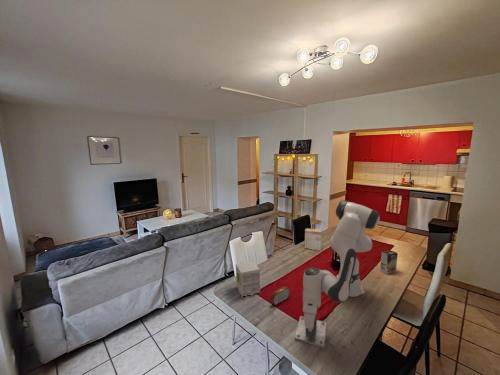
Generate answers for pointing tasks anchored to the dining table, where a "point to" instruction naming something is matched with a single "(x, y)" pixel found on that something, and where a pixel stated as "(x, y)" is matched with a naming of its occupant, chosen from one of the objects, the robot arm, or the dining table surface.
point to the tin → (280, 295)
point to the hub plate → (309, 337)
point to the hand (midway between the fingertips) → (311, 323)
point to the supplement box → (248, 278)
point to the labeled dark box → (313, 327)
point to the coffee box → (388, 262)
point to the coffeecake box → (313, 238)
